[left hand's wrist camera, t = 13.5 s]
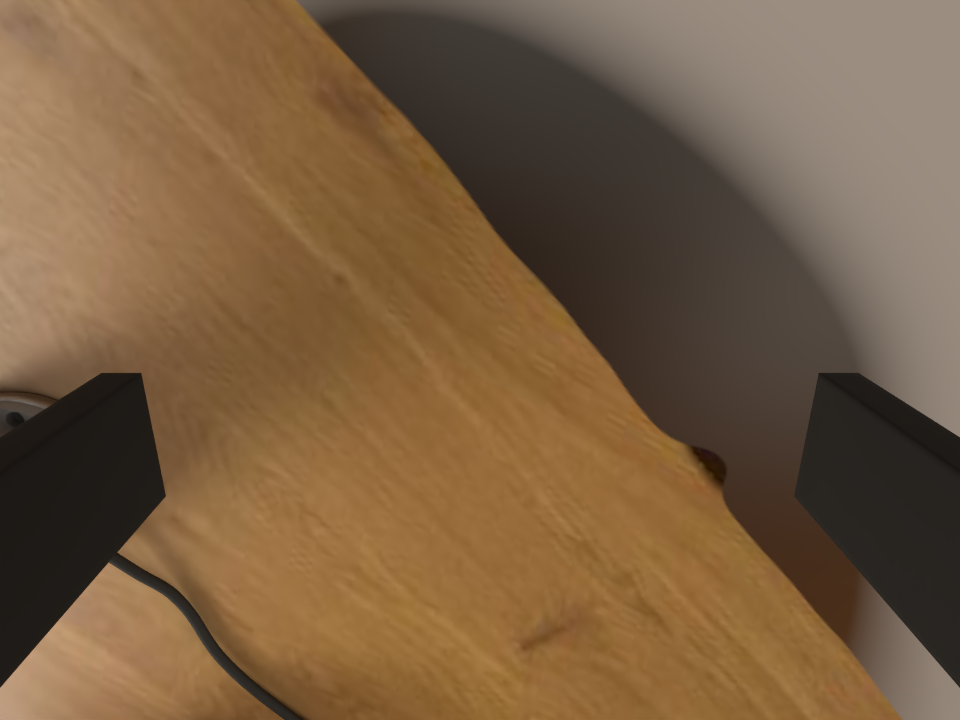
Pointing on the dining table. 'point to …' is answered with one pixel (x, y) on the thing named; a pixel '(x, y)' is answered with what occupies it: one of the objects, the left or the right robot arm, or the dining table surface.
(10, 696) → the dining table surface
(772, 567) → the dining table surface
